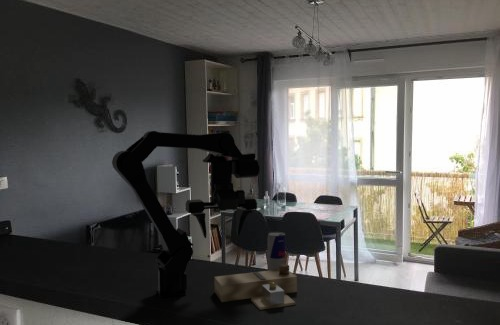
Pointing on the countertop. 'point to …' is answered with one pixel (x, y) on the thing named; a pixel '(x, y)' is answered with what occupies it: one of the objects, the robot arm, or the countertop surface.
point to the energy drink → (276, 250)
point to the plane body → (253, 283)
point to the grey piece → (273, 293)
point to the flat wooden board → (265, 305)
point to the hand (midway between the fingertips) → (221, 236)
